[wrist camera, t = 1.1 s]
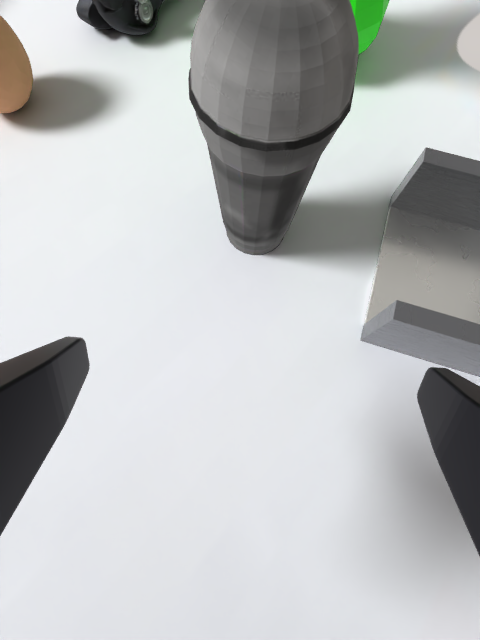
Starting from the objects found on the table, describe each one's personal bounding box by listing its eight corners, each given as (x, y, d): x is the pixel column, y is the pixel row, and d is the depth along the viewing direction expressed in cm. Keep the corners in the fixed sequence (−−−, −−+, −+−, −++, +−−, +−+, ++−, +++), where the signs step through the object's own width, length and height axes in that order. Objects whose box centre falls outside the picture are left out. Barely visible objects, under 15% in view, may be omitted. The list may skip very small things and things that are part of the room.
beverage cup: (287, 181, 27) (418, -410, 8) (314, 260, 25) (581, -274, 6) (199, 198, 26) (105, -395, 7) (219, 281, 24) (163, -239, 5)
